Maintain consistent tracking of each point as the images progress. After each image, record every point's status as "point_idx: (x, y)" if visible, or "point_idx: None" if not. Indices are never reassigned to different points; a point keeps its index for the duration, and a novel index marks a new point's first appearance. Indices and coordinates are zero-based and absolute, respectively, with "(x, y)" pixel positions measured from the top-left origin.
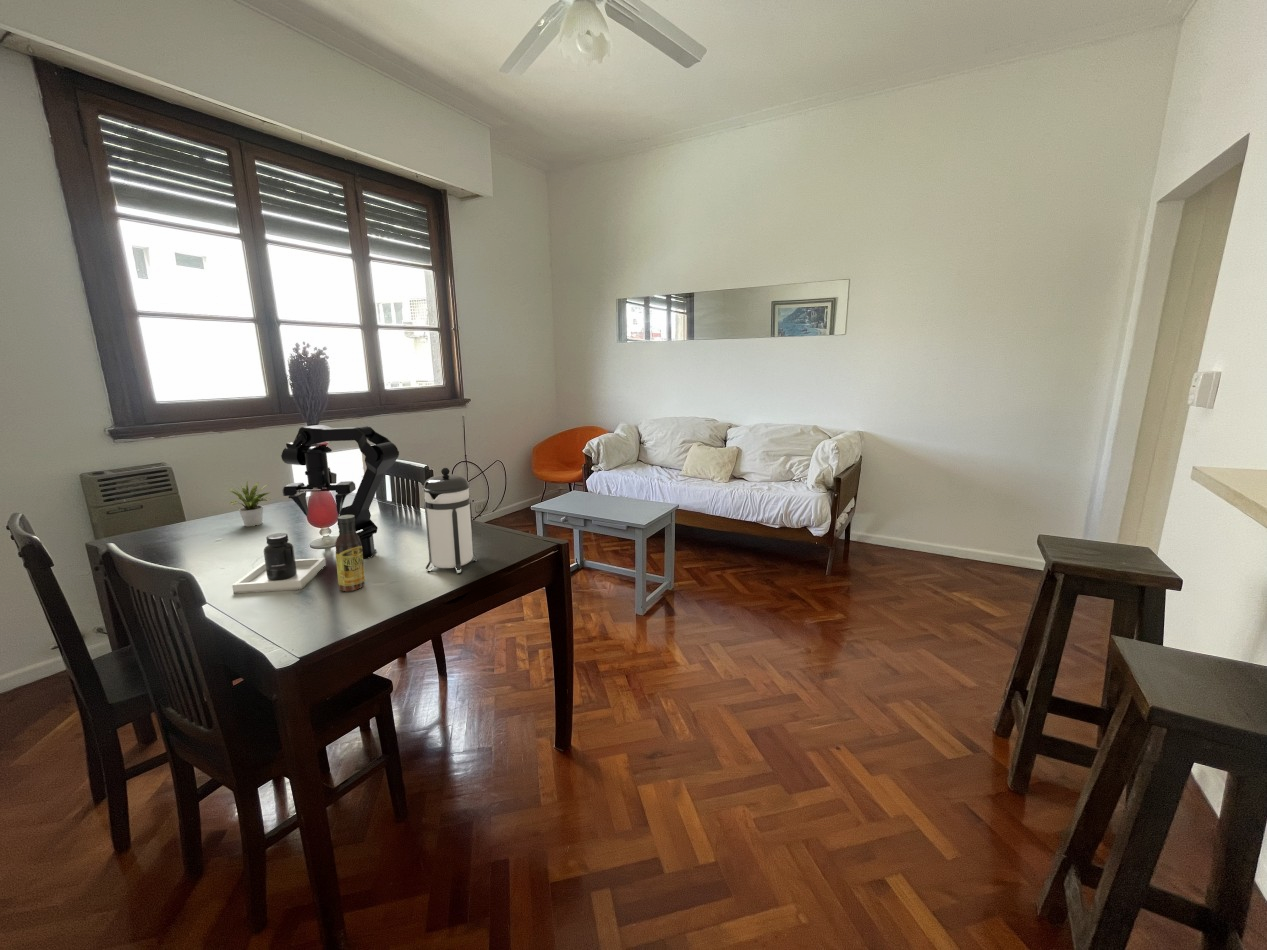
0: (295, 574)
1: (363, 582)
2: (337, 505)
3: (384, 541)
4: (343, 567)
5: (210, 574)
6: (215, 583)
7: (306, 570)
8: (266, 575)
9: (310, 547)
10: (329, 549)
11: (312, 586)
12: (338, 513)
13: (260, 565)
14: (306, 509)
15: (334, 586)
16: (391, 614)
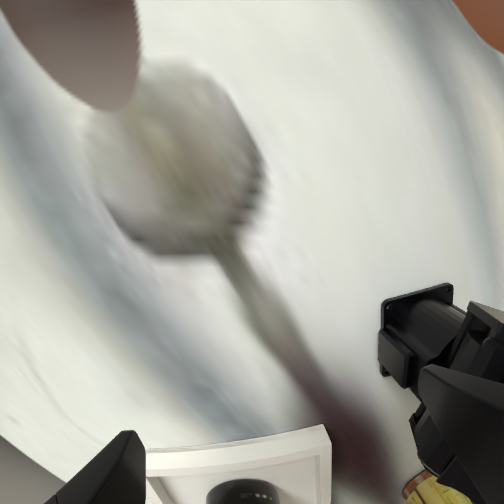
0: (276, 491)
1: None
2: (476, 469)
3: (442, 162)
4: None
5: (27, 449)
6: None
7: (288, 468)
8: (189, 492)
9: (127, 240)
10: (243, 267)
11: (342, 500)
12: (428, 399)
13: (148, 490)
14: (131, 493)
15: (388, 488)
16: None
